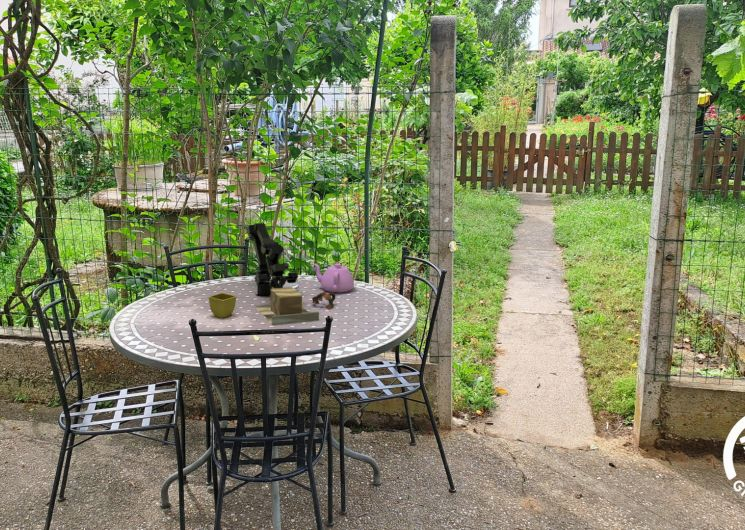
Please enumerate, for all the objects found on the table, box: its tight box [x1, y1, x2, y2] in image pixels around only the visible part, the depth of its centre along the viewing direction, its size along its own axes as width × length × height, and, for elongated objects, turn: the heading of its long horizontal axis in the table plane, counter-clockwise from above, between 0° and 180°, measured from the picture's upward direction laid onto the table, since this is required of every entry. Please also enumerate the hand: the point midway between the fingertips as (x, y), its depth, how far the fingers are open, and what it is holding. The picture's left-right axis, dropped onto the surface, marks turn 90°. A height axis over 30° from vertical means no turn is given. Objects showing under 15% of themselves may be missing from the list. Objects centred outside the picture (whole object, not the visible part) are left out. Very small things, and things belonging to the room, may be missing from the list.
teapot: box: [312, 262, 355, 293], centre depth 337 cm, size 22×22×14 cm
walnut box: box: [270, 286, 303, 316], centre depth 293 cm, size 14×10×10 cm
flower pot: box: [208, 292, 237, 319], centre depth 287 cm, size 9×9×9 cm
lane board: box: [255, 305, 320, 326], centre depth 293 cm, size 26×21×4 cm
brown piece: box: [311, 291, 336, 310], centre depth 308 cm, size 12×10×8 cm
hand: (281, 294), depth 299 cm, fingers closed
